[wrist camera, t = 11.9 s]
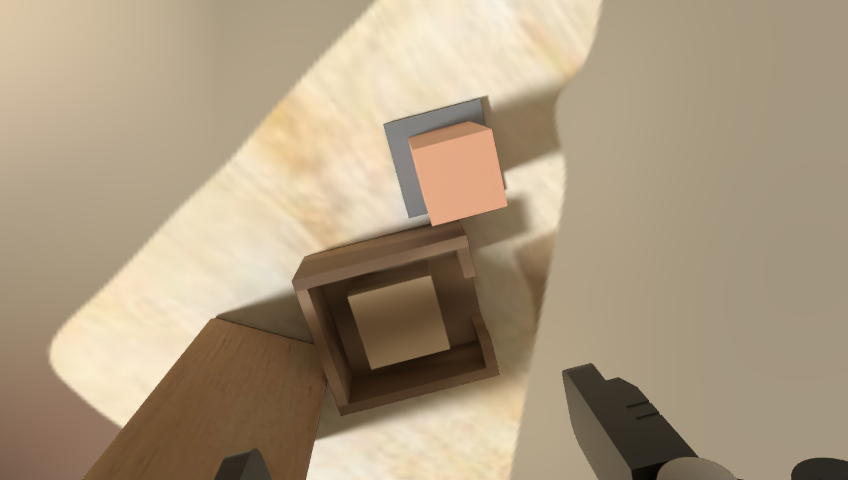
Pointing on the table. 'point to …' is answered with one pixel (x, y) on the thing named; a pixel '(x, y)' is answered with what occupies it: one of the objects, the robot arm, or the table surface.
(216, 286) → the table surface
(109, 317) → the table surface
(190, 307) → the table surface
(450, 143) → the block
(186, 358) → the wooden block
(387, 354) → the crate
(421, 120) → the pad
